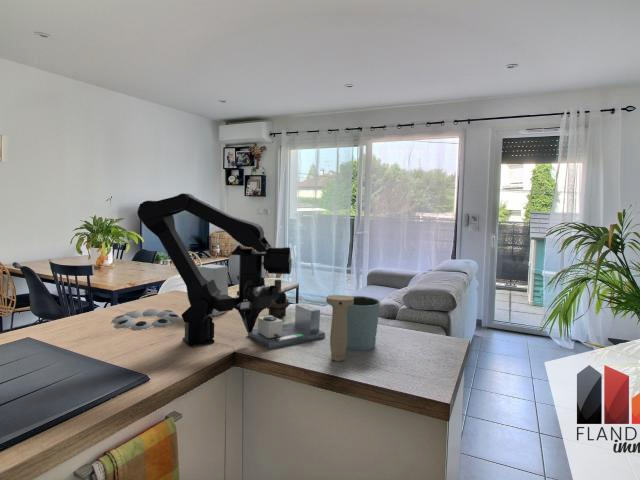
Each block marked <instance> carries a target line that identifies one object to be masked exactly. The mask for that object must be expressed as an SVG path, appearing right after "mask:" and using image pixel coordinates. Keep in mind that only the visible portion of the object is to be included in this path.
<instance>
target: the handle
mask: <svg viewBox="0 0 640 480" xmlns="http://www.w3.org/2000/svg"><path fill="white" fill-rule="evenodd" d="M353 303H354V297H352V296H351V295H340V294H332V295H327V296H326V304H328V305H330V306H331V308H332V316H331V324H330V333H329V335H330V336H329V337H330V338H329V346H330V358H331V360H332V361H335V362H337V363H338V362H342V361H344V360H345V357H346V356H345V355H346V354H345V353H346V351H347V347H346V345H347V307H349V306H351V305H352V304H353Z"/></svg>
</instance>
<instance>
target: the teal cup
mask: <svg viewBox="0 0 640 480" xmlns="http://www.w3.org/2000/svg"><path fill="white" fill-rule="evenodd" d="M352 297H354V303H353V304H352V305H351V306H349V307H347V345H346V349H350V350H353V351H370V350H372V349H375V346H376V343H377V341H376V340H377V337H376V336H377V332H378V323H379V322H378V321H379V313H380V308H381V307H380V306H381V301H380V300H379V299H377V298H374V297H370V296H362V295H354V296H352Z"/></svg>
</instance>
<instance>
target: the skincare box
mask: <svg viewBox="0 0 640 480" xmlns="http://www.w3.org/2000/svg"><path fill="white" fill-rule="evenodd" d="M196 266H197V265H196ZM197 268H198V270H199V271H200V273H201V275H202V276H203V277H204V278H205V279H206V280H207V281H208V282H209V281H211V280H212V279H213V280H214V281H215V284H216V286H217V288H218V289H219V290H220V291H221V293H219V294H220V295H229V286H228V285H229V280H228V278H229V275H228V273H229V272H228V270H229V269H228V265H219V264H213V263H212V264H211V263H208V264H202V265H198V266H197ZM228 312H229V311H223V312H219V311H217V310H216V309H215V310H214V311H213V314H212V315H211V316H215V317H216V316H218V315H223V314H226V313H228Z"/></svg>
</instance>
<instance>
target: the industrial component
mask: <svg viewBox="0 0 640 480" xmlns="http://www.w3.org/2000/svg"><path fill="white" fill-rule="evenodd" d="M274 285H277V286H278V287H279V290H280V291H282V280H281V279H275V280H274ZM289 306H290V302H289V299H288V298H286V303H283V304H276V303H275V302H274V301H273V300H272V303H271V306H270V307H267V308H266V309H267V310H268V316H270V315H271V316H273V317H276V318H277V319H279V318H284V317H285V316H286V314H287V313H286V309H287V308H289Z"/></svg>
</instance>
